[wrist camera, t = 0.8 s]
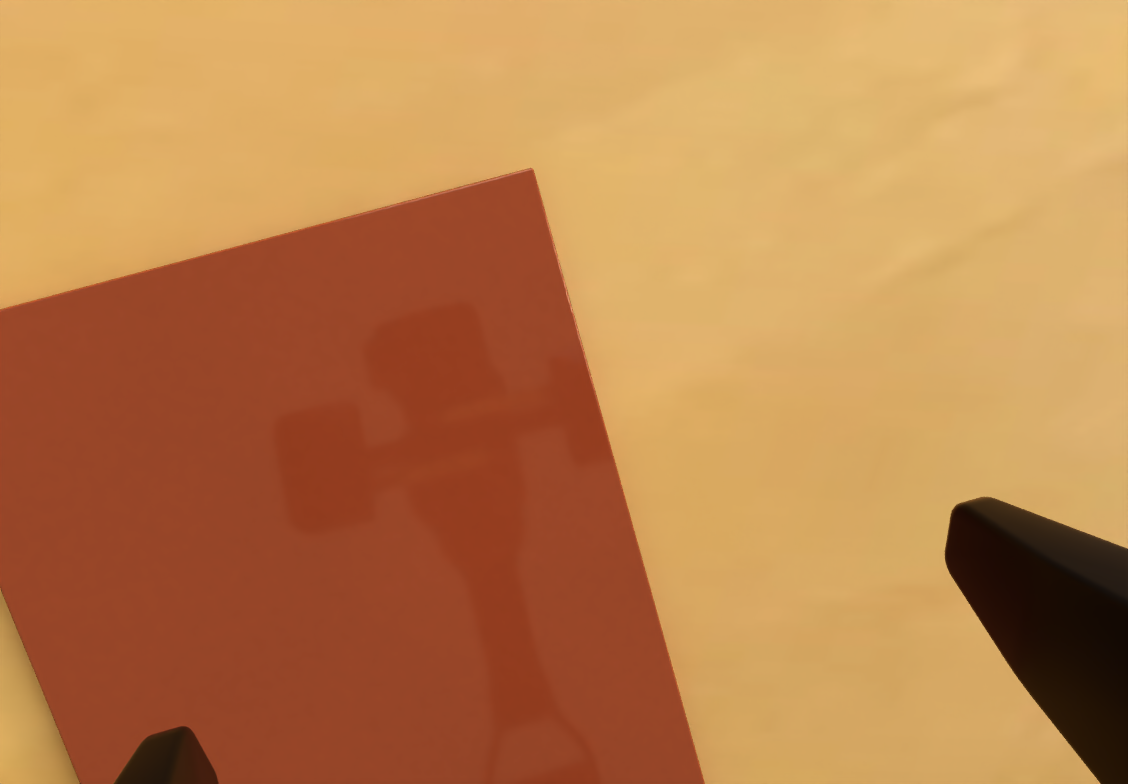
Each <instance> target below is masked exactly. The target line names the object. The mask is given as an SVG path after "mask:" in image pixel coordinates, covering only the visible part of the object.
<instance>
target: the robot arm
mask: <svg viewBox="0 0 1128 784" xmlns="http://www.w3.org/2000/svg"><path fill="white" fill-rule="evenodd" d="M945 562H946V565H947V568H948V570H949V573H950V574H951V576H952V578H953V579H954V581H955V582H956V584H957V585H958V587H959V589H960V590H961V592H962V593H963V595H964V596H965V598H966V599H967V601H968V602H969V604H970V606H971V607H972V609H973V610H974V612H975V613H976V615H977V616H978V618H979V620H980V621H981V623H982V624H983V626H984V627H985V629H986V630H987V632H988V634H989V635H990V637H991V638H992V640H993V641H994V643H995V644H996V646H997V647H998V649H999V651H1000V652H1001V654H1002V655H1003V657H1004V658H1005V660H1006V661H1007V663H1008V664H1009V666H1010V667H1011V669H1012V670H1013V672H1014V673H1015V675H1016V676H1017V677H1018V679H1019V680H1020V682H1021V683H1022V684H1023V686H1024V687H1025V688H1026V690H1027V691H1028V692H1029V694H1030V695H1031V696H1032V698H1033V699H1034V700H1035V701H1036V703H1037V704H1038V705H1039V706H1040V708H1041V709H1042V710H1043V711H1044V713H1045V714H1046V715H1047V716H1048V718H1049V719H1050V720H1051V721H1052V723H1053V724H1054V725H1055V727H1056V728H1057V729H1058V730H1059V732H1060V733H1061V734H1062V735H1063V737H1064V738H1065V739H1066V740H1067V742H1068V743H1069V744H1070V745H1071V747H1072V748H1073V749H1074V750H1075V752H1076V753H1077V754H1078V756H1079V757H1080V758H1081V759H1082V761H1083V762H1084V763H1085V764H1086V766H1087V767H1088V768H1089V769H1090V771H1091V772H1092V773H1093V774H1094V776H1095V777H1096V778H1097V779H1098V781H1099V782H1100V783H1101V784H1128V549H1127V548H1124V547H1122V546H1119V545H1116V544H1114V543H1111V542H1108V541H1106V540H1103V539H1100V538H1098V537H1095V536H1092V535H1090V534H1087V533H1085V532H1082V531H1079V530H1077V529H1074V528H1071V527H1069V526H1066V525H1063V524H1061V523H1058V522H1055V521H1053V520H1050V519H1047V518H1045V517H1042V516H1040V515H1037V514H1034V513H1032V512H1029V511H1026V510H1024V509H1021V508H1018V507H1016V506H1013V505H1010V504H1008V503H1005V502H1003V501H1000V500H997V499H994V498H991V497H980V498H976V499H973V500H969V501H966V502H963V503H959V504H957V505H956V506H955V507H954V509H953V510H952V512H951V517H950V523H949V529H948V535H947V541H946V548H945ZM113 784H219V783H218V779H217V775H216V772H215V770H214V768H213V766H212V765H211V763H210V761H209V759H208V757H207V756H206V754H205V752H204V750H203V748H202V747H201V745H200V743H199V741H198V739H197V738H196V736H195V734H194V732H193V731H192V730H191V729H190V728H189V727H186V726H180V727H176V728H173V729H169V730H166V731H162V732H159V733H155V734H152V735H150V736H148V737H147V738H145V739H144V740H143V741H142V742H141V744H140V745H139V746H138V748H137V749H136V751H135V752H134V754H133V755H132V757H131V758H130V760H129V761H128V763H127V764H126V765H125V767H124V768H123V770H122V771H121V773H120V774H119V776H118V777H117V779H116V780H115V782H114V783H113Z"/></svg>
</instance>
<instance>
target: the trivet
mask: <svg viewBox="0 0 1128 784" xmlns="http://www.w3.org/2000/svg"><path fill="white" fill-rule="evenodd" d="M0 589H1V591H2V594H3V596H4V599H5V601H6V603H7V606H8V608H9V611H10V613H11V616H12V618H13V621H14V623H15V625H16V628H17V630H18V633H19V635H20V638H21V640H22V642H23V645H24V647H25V650H26V652H27V655H28V657H29V660H30V662H31V664H32V667H33V669H34V672H35V674H36V677H37V679H38V682H39V684H40V686H41V689H42V691H43V694H44V696H45V699H46V701H47V703H48V706H49V708H50V711H51V713H52V716H53V718H54V721H55V723H56V725H57V728H58V730H59V733H60V735H61V738H62V740H63V743H64V745H65V747H66V750H67V752H68V755H69V757H70V760H71V762H72V765H73V767H74V769H75V772H76V774H77V777H78V779H79V782H80V784H113V783H114V782H115V780H116V779H117V777H118V776H119V774H120V773H121V771H122V770H123V768H124V767H125V765H126V764H127V763H128V761H129V760H130V758H131V757H132V755H133V754H134V752H135V751H136V749H137V748H138V746H139V745H140V744H141V742H142V741H143V740H144V739H145V738H147V737H148V736H150V735H152V734H155V733H159V732H162V731H166V730H169V729H173V728H176V727H180V726H186V727H189V728H190V729H191V730H192V731H193V732H194V734H195V736H196V738H197V739H198V741H199V743H200V745H201V747H202V748H203V750H204V752H205V754H206V756H207V757H208V759H209V761H210V763H211V765H212V766H213V768H214V770H215V772H216V775H217V779H218V783H219V784H705V782H704V779H703V775H702V771H701V768H700V764H699V761H698V757H697V754H696V750H695V746H694V743H693V739H692V736H691V732H690V728H689V725H688V721H687V718H686V714H685V711H684V707H683V703H682V700H681V696H680V693H679V689H678V685H677V682H676V678H675V675H674V671H673V668H672V664H671V660H670V657H669V653H668V650H667V646H666V642H665V639H664V635H663V632H662V628H661V625H660V621H659V617H658V614H657V610H656V607H655V603H654V599H653V596H652V592H651V589H650V585H649V582H648V578H647V574H646V571H645V567H644V564H643V560H642V556H641V553H640V549H639V546H638V542H637V539H636V535H635V531H634V528H633V524H632V521H631V517H630V513H629V510H628V506H627V503H626V499H625V496H624V492H623V488H622V485H621V481H620V478H619V474H618V470H617V467H616V463H615V460H614V456H613V453H612V449H611V445H610V442H609V438H608V435H607V431H606V427H605V424H604V420H603V417H602V413H601V410H600V406H599V402H598V399H597V395H596V392H595V388H594V384H593V381H592V377H591V374H590V370H589V367H588V363H587V359H586V356H585V352H584V349H583V345H582V341H581V338H580V334H579V331H578V327H577V324H576V320H575V316H574V313H573V309H572V306H571V302H570V298H569V295H568V291H567V288H566V284H565V281H564V277H563V273H562V270H561V266H560V263H559V259H558V255H557V252H556V248H555V245H554V241H553V238H552V234H551V230H550V227H549V223H548V220H547V216H546V212H545V209H544V205H543V202H542V198H541V195H540V191H539V187H538V184H537V180H536V177H535V173H534V170H533V169H532V168H529V169H525V170H521V171H517V172H514V173H510V174H506V175H502V176H499V177H495V178H491V179H487V180H484V181H480V182H476V183H472V184H469V185H465V186H461V187H457V188H454V189H450V190H446V191H442V192H439V193H435V194H431V195H427V196H424V197H420V198H416V199H412V200H409V201H405V202H401V203H397V204H394V205H390V206H386V207H382V208H379V209H375V210H371V211H367V212H364V213H360V214H356V215H352V216H349V217H345V218H341V219H337V220H334V221H330V222H326V223H322V224H319V225H315V226H311V227H307V228H304V229H300V230H296V231H292V232H289V233H285V234H281V235H277V236H274V237H270V238H266V239H262V240H259V241H255V242H251V243H247V244H244V245H240V246H236V247H232V248H229V249H225V250H221V251H217V252H214V253H210V254H206V255H202V256H199V257H195V258H191V259H187V260H184V261H180V262H176V263H172V264H169V265H165V266H161V267H157V268H154V269H150V270H146V271H142V272H139V273H135V274H131V275H127V276H124V277H120V278H116V279H112V280H109V281H105V282H101V283H97V284H94V285H90V286H86V287H82V288H79V289H75V290H71V291H67V292H64V293H60V294H56V295H52V296H49V297H45V298H41V299H37V300H34V301H30V302H26V303H22V304H19V305H15V306H11V307H7V308H4V309H0Z"/></svg>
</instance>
